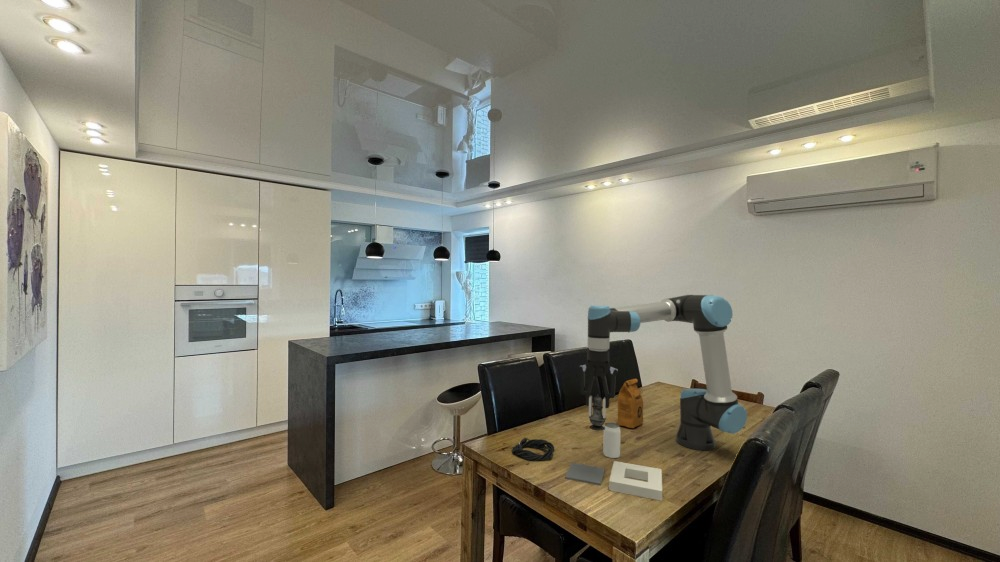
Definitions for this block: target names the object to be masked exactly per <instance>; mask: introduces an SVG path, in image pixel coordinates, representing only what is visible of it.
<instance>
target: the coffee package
mask: <svg viewBox="0 0 1000 562" xmlns="http://www.w3.org/2000/svg"><path fill="white" fill-rule="evenodd" d="M638 382H639V381H638V379H637V378H632V379H629V380H626V381H624V383H623V385H622V386H621V388H620V390H619V392H618V399H617V424H618V425H619V427H626V428H628V429H634V428H635V427H638V426H641V425H642V424H644V399H643V396H642V394H641V392H640V390H639V389H638V385H637V383H638Z"/></svg>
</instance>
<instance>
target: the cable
mask: <svg viewBox="0 0 1000 562" xmlns="http://www.w3.org/2000/svg"><path fill="white" fill-rule="evenodd" d="M529 446H530V447H529ZM525 447H529V448H532V449H536V450H539V449H540V450H546V452H544V453H543V454H538V453H536V452H533V451H531V450H528V449H523V448H525ZM511 450H512V451H511V452H512V453H513V454H516V455H517V456H520V457H522V459H525V460H528V461H529V460H530V461H549V460H551V458H552V457H553V454H554V453H555V446H554V444H553V443H552V442H550V441H548V440H546V439H541V438H540V439H538V438H537V439H536V438H535V439H529V438H527V437H524V438H523V439H521V441H520V442H519V441H518V443H517V444H516V445H514V446H512V448H511Z"/></svg>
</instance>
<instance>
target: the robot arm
mask: <svg viewBox="0 0 1000 562" xmlns="http://www.w3.org/2000/svg"><path fill="white" fill-rule="evenodd" d="M733 316H734V315H733V309H732V306H731V304H730V302H729V301H728V300H727V299H725V298H724V297H722V296H719V295H713V294H685V295H680V296H673V297H670V298H664V299H662V300H661V301H657V302H649V303H641V304H634V305H626V306H617V307H616V306H615V307H610V306H609V305H590V306H589V307H588V311H587V352H586V353H587V355H586V363H585V364H583V365H582V364H581V365H579V366H578V370H579V374H580V394H581V395H583V396H585V405H586V406H587V407H588V417H589V416H591V415H592V414H593V407H592V406H593V395H591V392H592V388H593V384H594V379H595V377H600V378H601V382H602V386H603V387H602V388H603V392H604V397H602V398H603V399H602V407H603V408H602V416H603V418H606V417H607V409H609V408H610V399H614V398H615V396H616V382H617V381H616V379H617V378H616V377H617V374H618V371H619V370H618V368H615V367H613V366H611V364H610V351H609V350H610V343H611V342H610V339H611V337H610V334H611V333H635V332H637V331H638V330H639V329H640V327H641V324H643V323H652V322H657V321H659V322H660V321H665V322H681V323H689V324H692V327H693V330H694V332H695V333H697V334H698V338H699V344H700V351H701V357H702V363H703V364H702V365H703V371H704V377H705V379H704V380H705V384H706V389H705V388H683V389H682V390H681V392H680V398H679V404H680V405H679V407H680V408H679V409H680V413H679V415H680V416H679V417H680V423H679V426H678V428H677V431H676V433H675V441H676V443H678V444H679V445H681V446H682V447H685V448H687V449H688V448H689V449H692V450H698V451H711V450H714V449H715V448H716V440H715V436H714V434H713V431H712V427H713V428H714V429H717V430H719V431H721V432H723V433H727V434H731V435H732V434H734V435H735V434H737V433H739V432H740V431H741V430H743V428H744V426H745V425H746V423H747V420H748V412H747V409H746V408H745V407H744V406H743V405H741V404H739V400H738V399H739V398H738V395H737V394H735V393H734V392H733V390H732V383H731V376H730V370H729V363H728V356H727V349H726V342H725V341H726V340H725V334H724V333H725V332H726V331H727V330H728V325H729V324H730V323H731V321H732V319H733ZM586 370H588V372H589V373H590V375H589V381H588V385H587V388H586ZM609 371H610V374H611V381H610V391H609V386H608V381H607V373H608V372H609Z"/></svg>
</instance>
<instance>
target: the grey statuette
mask: <svg viewBox="0 0 1000 562" xmlns="http://www.w3.org/2000/svg"><path fill="white" fill-rule="evenodd" d="M602 398H603V397H601V396H599V393H596V395H595V396H594V397H593V400H592V415H591V416H589V415H588V419H589V422H590V424H591V425H589V429H590V430H593V431H599V432H601V431H603V430H605V427H604V425H605V423H606V420H607V418H606V417H605V418H603V399H602Z"/></svg>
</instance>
